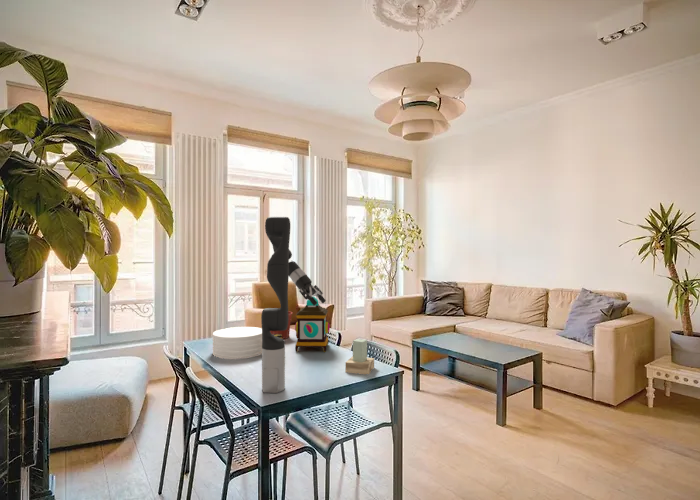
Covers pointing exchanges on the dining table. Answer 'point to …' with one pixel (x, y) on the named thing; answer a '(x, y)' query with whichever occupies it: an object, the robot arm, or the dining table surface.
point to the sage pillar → (359, 350)
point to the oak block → (359, 366)
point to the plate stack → (237, 342)
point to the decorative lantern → (312, 326)
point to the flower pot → (286, 332)
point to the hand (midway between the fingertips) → (320, 303)
